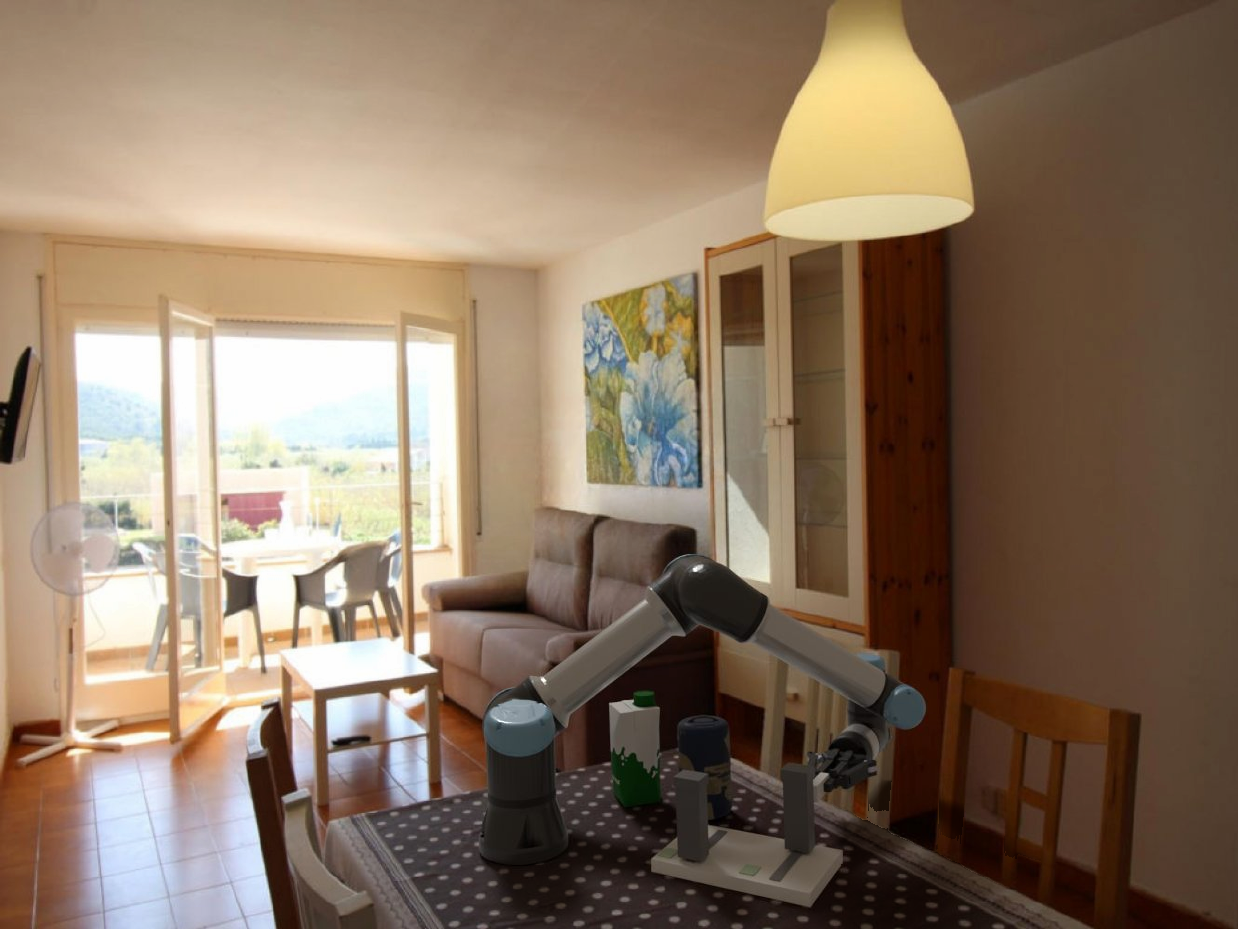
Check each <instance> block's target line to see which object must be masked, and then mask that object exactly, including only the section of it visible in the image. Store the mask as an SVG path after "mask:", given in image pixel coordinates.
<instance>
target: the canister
mask: <svg viewBox="0 0 1238 929" xmlns="http://www.w3.org/2000/svg"><path fill="white" fill-rule="evenodd" d="M676 730H677V753H678V754H677V756H678V773H679V772H681V771H682V770H689V771H695V772H701V773H708V777H709V784H708V785H707V807H708V821H711V820H717V819H721V818H723V817H725V816H728V814H730V812H731V811H732V807H733V795H732V794H733V792H732V771H731V766H732V765H731V764H732V762H731V741H730V739H731V738H730V727H729V723H728V722H727V720H725V719H724V718H722V717H719V716H715V715H705V714H702V715H693V716H689V717H686V718H683V719H681V720H680V721H679V722H678V723H677V729H676Z"/></svg>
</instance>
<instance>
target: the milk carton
mask: <svg viewBox="0 0 1238 929" xmlns="http://www.w3.org/2000/svg"><path fill="white" fill-rule="evenodd" d="M655 699H656V698H655V692H654V691H652V690H637V691H634V692H633V699H629V700H628V699H627V700H625V699H624V700H621V701H617V702H609V703H608V705H609V709H608V710H609V734H610V735H609V736H610V737H609V739H610V761H611V763H610V764H611V767H610V768H611V778H612V787H613V794H614V796H615V798H616V799H617V800H618V799H619V800H618V801H619V802H620V803H621V804H622V806H623V807H625V808H631V807H635V806H636V807H637V806H642V805H643V804H644V805H649V804H657V803H661V800H662V798H661V792H662V791H661V789H662V788H661V758H660V757H661V753H660V752H661V751H660V750H661V748H660V711H661V708H660V707H659V706H658V705H657V703H656V702H655V701H656V700H655ZM644 805H643V806H644Z"/></svg>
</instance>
